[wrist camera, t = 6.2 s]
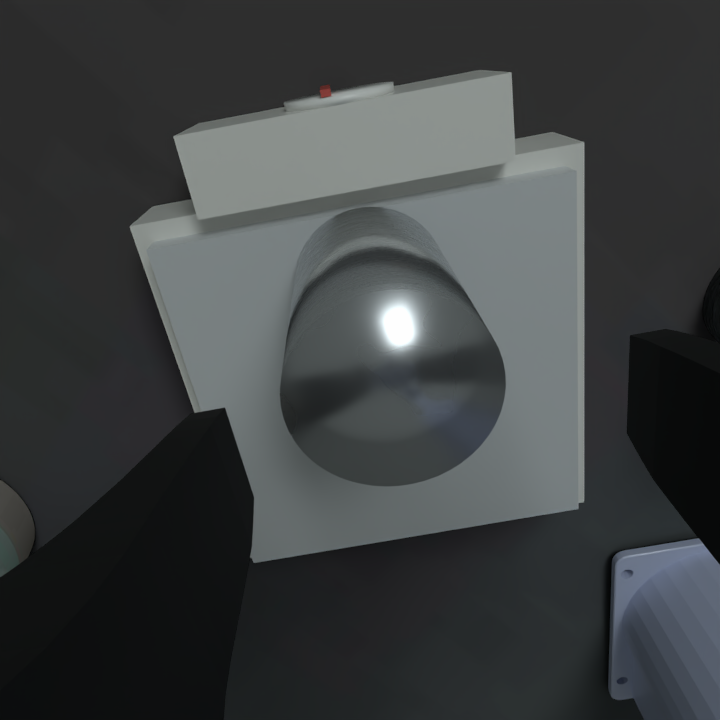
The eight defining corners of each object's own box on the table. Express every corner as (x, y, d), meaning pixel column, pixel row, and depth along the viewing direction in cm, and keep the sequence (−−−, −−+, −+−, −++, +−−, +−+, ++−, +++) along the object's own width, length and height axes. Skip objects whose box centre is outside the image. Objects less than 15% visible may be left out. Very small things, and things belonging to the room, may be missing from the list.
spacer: (445, 343, 17) (502, 476, 12) (304, 356, 17) (295, 495, 11) (444, 199, 15) (510, 279, 10) (285, 213, 15) (263, 301, 10)
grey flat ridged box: (559, 460, 23) (593, 517, 20) (252, 512, 23) (243, 576, 20) (550, 41, 16) (597, 37, 14) (125, 122, 17) (84, 135, 14)
